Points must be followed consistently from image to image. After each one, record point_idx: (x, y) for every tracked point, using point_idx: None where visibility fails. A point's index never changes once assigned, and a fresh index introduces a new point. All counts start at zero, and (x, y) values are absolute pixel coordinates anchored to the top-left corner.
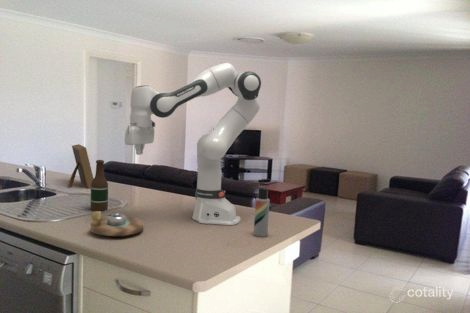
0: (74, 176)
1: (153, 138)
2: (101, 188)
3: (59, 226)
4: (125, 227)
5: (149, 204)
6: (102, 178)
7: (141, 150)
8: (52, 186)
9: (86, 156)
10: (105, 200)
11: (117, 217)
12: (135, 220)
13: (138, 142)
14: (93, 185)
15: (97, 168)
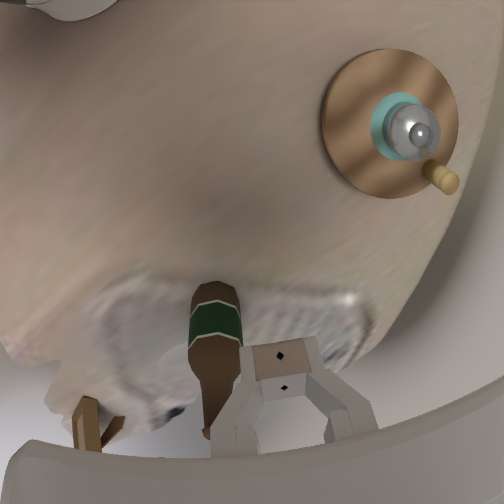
0: (106, 432)
1: (13, 484)
2: (230, 338)
3: (389, 262)
4: (427, 86)
5: (63, 237)
6: (221, 370)
7: (266, 382)
8: (140, 429)
9: None
10: (215, 303)
11: (431, 123)
12: (354, 92)
13: (456, 426)
14: None
15: None
